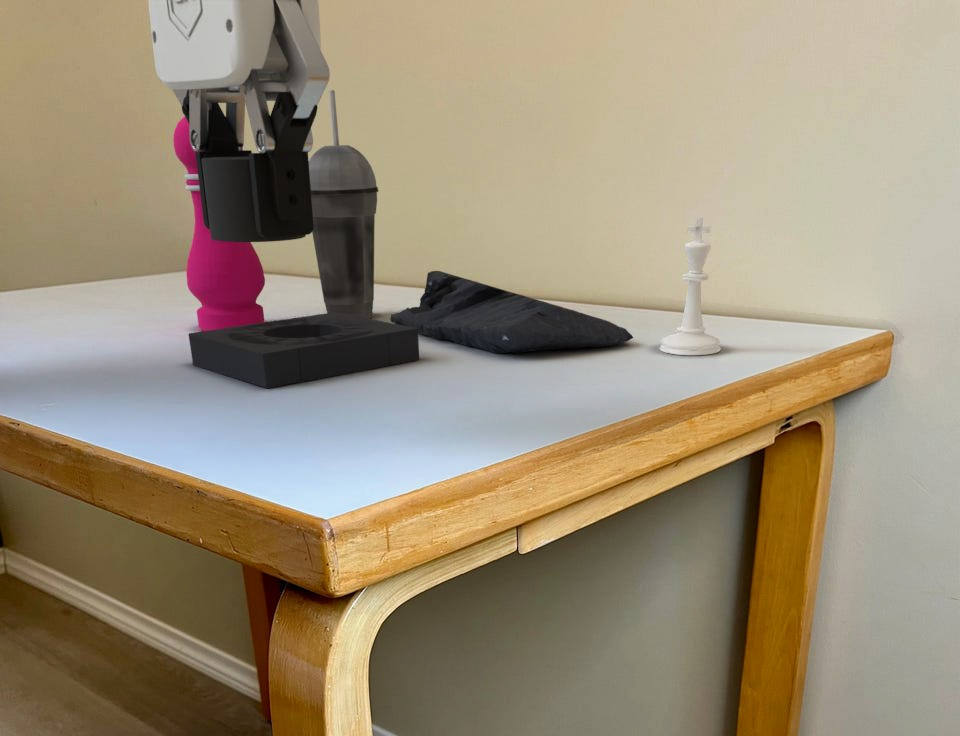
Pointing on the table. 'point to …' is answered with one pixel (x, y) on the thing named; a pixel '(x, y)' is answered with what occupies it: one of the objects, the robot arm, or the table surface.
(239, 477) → the table surface
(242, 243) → the pepper mill
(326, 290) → the beverage cup
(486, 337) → the black fabric pouch
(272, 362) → the base pad
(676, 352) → the chess piece
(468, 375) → the table surface
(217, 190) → the dark gray cylinder
